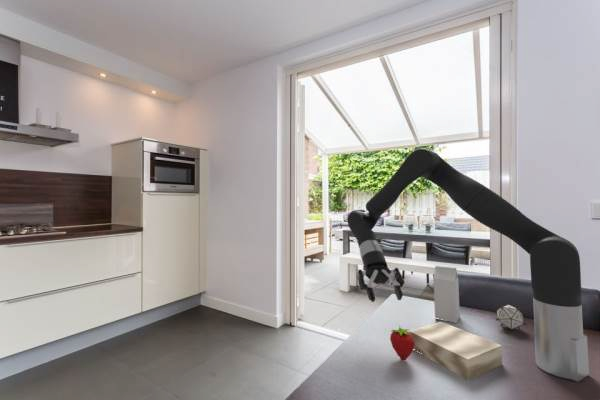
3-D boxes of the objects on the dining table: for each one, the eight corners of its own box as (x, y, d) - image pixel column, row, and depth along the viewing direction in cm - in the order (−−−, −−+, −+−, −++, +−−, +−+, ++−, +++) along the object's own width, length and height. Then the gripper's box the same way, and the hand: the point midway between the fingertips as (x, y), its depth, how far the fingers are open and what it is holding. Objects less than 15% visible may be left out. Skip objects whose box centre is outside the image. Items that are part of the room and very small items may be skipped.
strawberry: (399, 369, 74) (397, 330, 74) (386, 354, 82) (385, 319, 82) (420, 367, 75) (419, 328, 75) (406, 352, 82) (404, 317, 83)
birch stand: (502, 364, 75) (501, 345, 75) (468, 380, 69) (467, 359, 69) (441, 337, 91) (441, 321, 91) (409, 347, 85) (409, 331, 85)
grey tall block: (456, 323, 101) (454, 269, 101) (434, 319, 105) (433, 267, 106) (459, 317, 107) (457, 266, 107) (439, 313, 111) (437, 264, 111)
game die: (518, 341, 95) (539, 323, 90) (493, 332, 95) (513, 314, 90) (506, 319, 102) (525, 301, 97) (484, 310, 103) (501, 292, 97)
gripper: (354, 250, 96) (367, 295, 85) (394, 248, 98) (412, 292, 86) (350, 263, 101) (362, 307, 90) (389, 261, 103) (405, 304, 91)
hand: (387, 299), depth 88 cm, fingers open, 8 cm apart
